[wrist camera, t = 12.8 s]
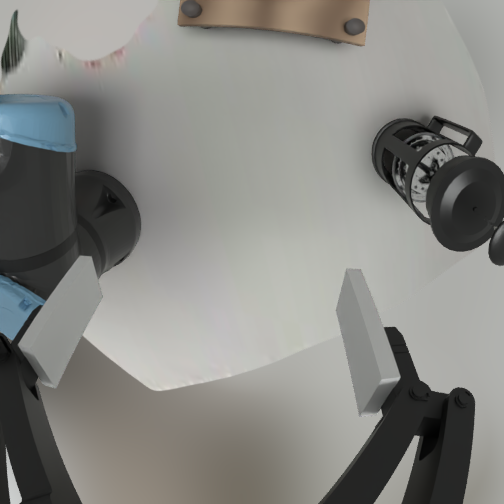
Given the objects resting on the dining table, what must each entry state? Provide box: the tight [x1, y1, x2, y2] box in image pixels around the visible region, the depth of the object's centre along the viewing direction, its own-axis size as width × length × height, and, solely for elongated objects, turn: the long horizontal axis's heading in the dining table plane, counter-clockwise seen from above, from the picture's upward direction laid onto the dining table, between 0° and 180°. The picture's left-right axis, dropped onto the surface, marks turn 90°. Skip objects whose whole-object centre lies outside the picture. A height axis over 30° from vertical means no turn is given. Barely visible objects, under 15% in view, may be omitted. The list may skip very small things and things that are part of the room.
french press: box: [372, 116, 504, 266], centre depth 26 cm, size 12×9×23 cm
